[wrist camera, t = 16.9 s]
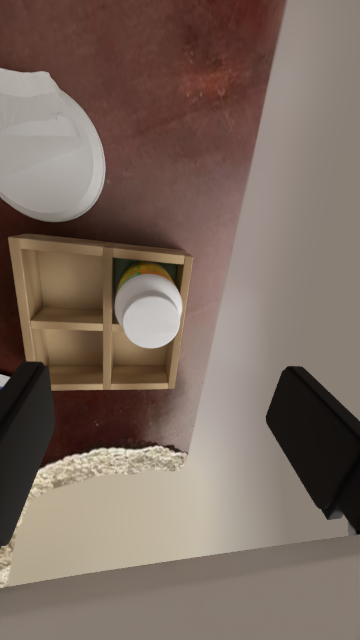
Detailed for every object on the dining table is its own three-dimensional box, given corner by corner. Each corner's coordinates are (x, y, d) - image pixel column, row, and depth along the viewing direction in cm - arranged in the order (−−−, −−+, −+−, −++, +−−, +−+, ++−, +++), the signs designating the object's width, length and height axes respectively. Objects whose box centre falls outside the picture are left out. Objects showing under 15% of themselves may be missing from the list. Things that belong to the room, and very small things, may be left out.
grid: (184, 250, 25) (193, 256, 21) (169, 367, 31) (174, 388, 27) (28, 233, 22) (7, 236, 18) (44, 367, 27) (30, 391, 24)
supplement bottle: (134, 248, 23) (134, 269, 14) (180, 275, 25) (205, 308, 16) (110, 294, 25) (96, 339, 16) (155, 317, 26) (165, 367, 18)
